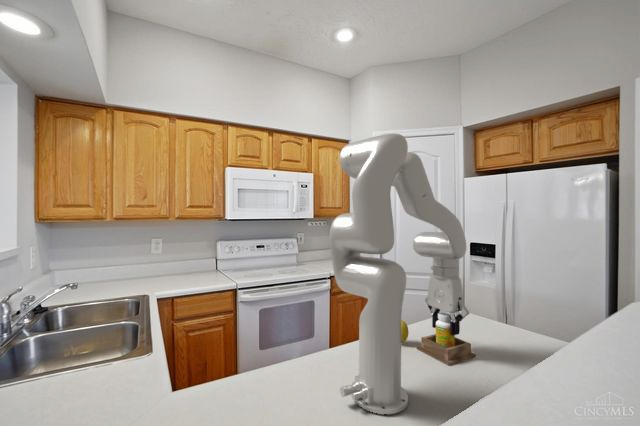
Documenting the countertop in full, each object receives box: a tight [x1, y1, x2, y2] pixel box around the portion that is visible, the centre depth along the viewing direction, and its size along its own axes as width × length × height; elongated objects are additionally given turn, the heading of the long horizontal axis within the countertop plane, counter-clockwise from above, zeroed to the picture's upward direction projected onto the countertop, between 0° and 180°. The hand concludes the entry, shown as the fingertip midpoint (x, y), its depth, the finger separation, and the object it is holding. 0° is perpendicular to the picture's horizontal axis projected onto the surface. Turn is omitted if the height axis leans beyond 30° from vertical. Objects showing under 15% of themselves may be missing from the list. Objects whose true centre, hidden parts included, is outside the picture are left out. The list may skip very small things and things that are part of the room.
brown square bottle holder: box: [416, 333, 477, 367], centre depth 91 cm, size 12×12×4 cm
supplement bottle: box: [435, 312, 456, 348], centre depth 91 cm, size 5×5×10 cm
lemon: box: [401, 319, 409, 344], centre depth 97 cm, size 6×6×8 cm
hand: (445, 330), depth 91 cm, fingers open, 6 cm apart
